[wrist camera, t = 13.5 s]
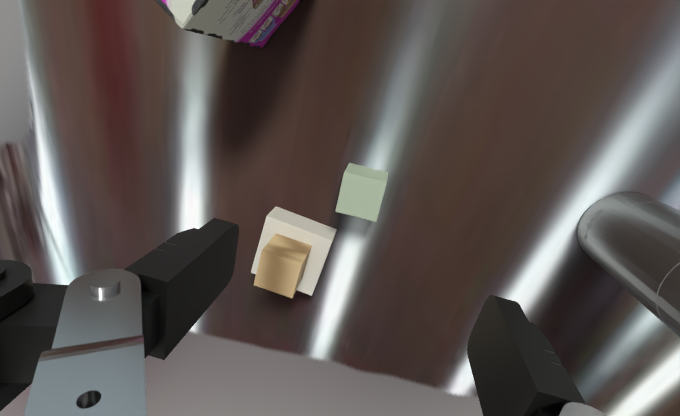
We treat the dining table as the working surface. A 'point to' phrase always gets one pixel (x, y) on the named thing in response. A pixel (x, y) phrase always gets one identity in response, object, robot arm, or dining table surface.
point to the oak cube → (282, 265)
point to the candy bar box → (231, 18)
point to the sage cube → (361, 192)
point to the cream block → (303, 232)
